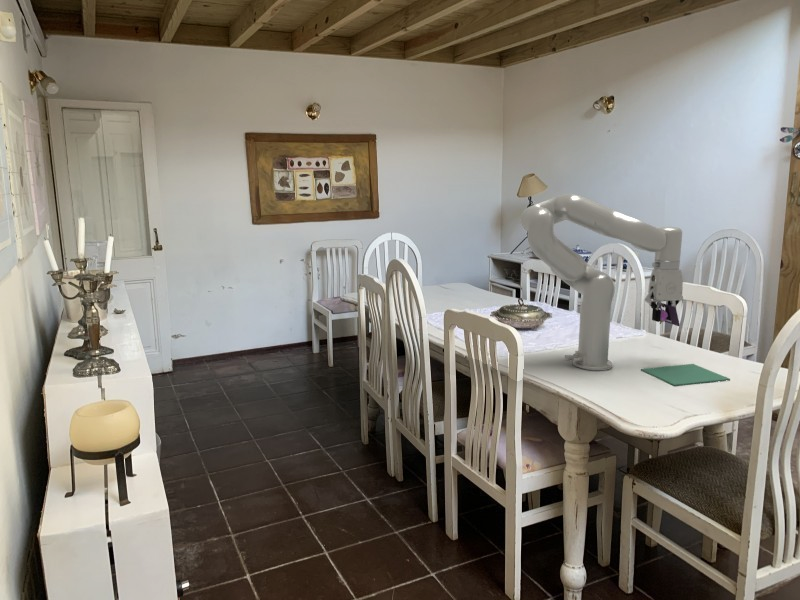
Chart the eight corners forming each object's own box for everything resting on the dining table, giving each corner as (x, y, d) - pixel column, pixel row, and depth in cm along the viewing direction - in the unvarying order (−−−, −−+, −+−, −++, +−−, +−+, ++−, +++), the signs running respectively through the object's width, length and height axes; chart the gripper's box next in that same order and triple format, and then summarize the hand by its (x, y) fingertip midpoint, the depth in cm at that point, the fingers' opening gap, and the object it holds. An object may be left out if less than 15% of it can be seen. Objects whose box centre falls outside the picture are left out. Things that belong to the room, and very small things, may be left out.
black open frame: (677, 306, 192) (659, 300, 200) (663, 312, 191) (646, 306, 200) (681, 325, 194) (663, 319, 202) (668, 331, 193) (650, 324, 201)
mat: (674, 386, 179) (674, 384, 179) (640, 370, 195) (640, 368, 194) (730, 380, 184) (730, 378, 184) (692, 365, 199) (693, 363, 199)
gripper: (652, 268, 189) (648, 324, 192) (696, 265, 193) (691, 321, 197) (637, 265, 196) (633, 319, 199) (680, 262, 200) (675, 316, 204)
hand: (662, 319), depth 198 cm, fingers closed on black open frame, 4 cm apart
